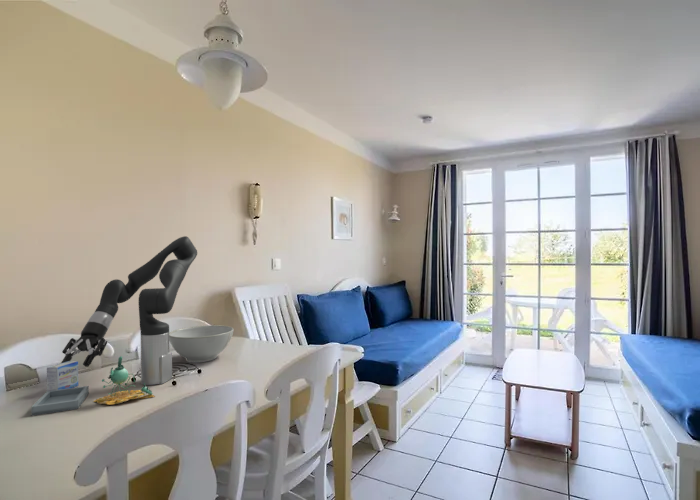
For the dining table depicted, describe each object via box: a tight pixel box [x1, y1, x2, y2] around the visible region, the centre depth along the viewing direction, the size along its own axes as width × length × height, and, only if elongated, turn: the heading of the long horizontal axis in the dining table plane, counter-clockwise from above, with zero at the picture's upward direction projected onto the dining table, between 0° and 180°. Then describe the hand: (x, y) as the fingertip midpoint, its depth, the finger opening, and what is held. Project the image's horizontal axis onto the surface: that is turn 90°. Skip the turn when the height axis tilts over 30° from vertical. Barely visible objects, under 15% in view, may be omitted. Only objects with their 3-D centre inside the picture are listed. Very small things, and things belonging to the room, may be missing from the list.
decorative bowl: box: [169, 324, 234, 363], centre depth 166 cm, size 27×27×12 cm
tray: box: [31, 385, 90, 417], centre depth 116 cm, size 11×14×2 cm
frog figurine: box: [92, 355, 156, 406], centre depth 118 cm, size 10×18×15 cm, turn 91°
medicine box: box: [46, 360, 79, 392], centre depth 129 cm, size 8×4×9 cm, turn 168°
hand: (74, 365), depth 135 cm, fingers open, 8 cm apart
